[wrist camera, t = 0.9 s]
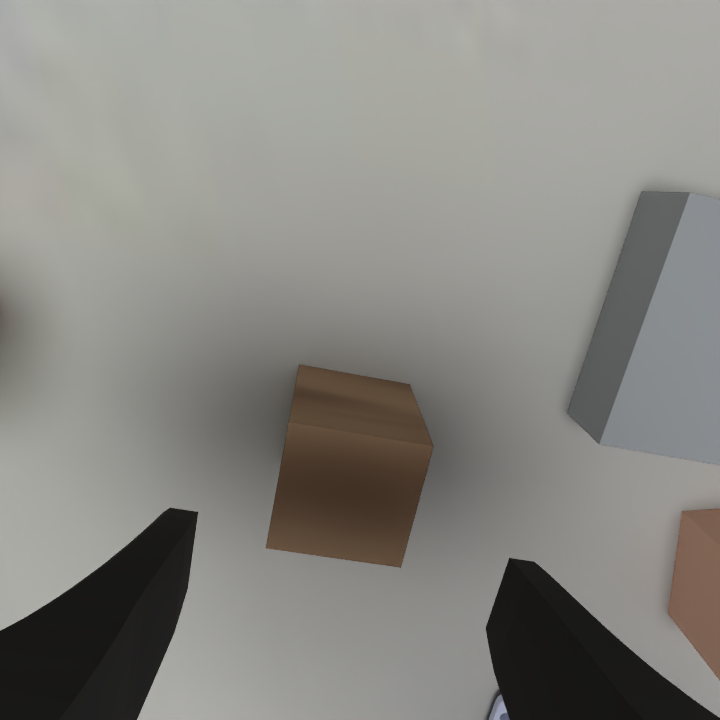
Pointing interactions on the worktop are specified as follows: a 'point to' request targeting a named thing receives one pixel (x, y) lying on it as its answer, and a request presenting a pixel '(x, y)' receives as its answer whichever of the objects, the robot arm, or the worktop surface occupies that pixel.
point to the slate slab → (659, 336)
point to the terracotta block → (698, 584)
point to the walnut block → (350, 468)
